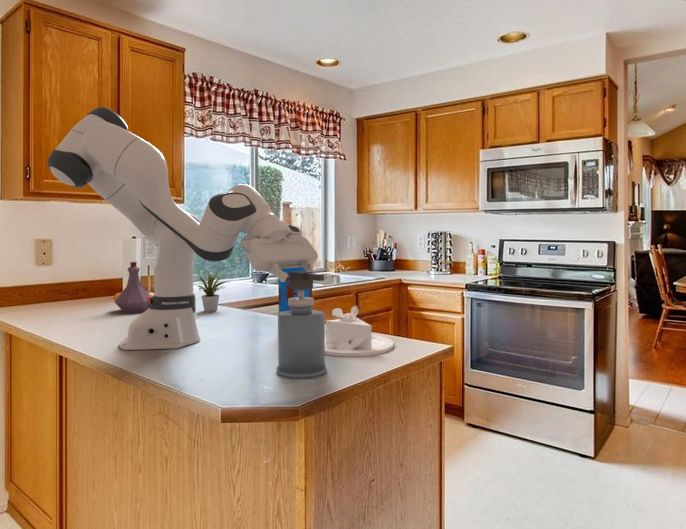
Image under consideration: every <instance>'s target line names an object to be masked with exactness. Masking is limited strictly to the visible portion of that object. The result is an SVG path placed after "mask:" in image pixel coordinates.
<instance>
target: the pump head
mask: <svg viewBox="0 0 686 529" xmlns="http://www.w3.org/2000/svg"><path fill="white" fill-rule="evenodd" d="M289 277H290V278H289V289H296V290H298V298H304V290H305V289H312V290H313V288H314V281H317V282H320V281H321V282H323V281H324V280H325V274H323V273H316V274H314V273H313V271H292V272H289Z"/></svg>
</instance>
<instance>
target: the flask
mask: <svg viewBox="0 0 686 529" xmlns="http://www.w3.org/2000/svg"><path fill="white" fill-rule="evenodd" d="M129 264H130V266H129V267H128V268H127V269H126V270H127V271H128V278H127V279H128V280H127V283H126V286H125V288H124V289H123V290H122V291H121V292H120V294H119V295H118V296H117V297H116V298H115V299H114V304H115V305H116V306H117V307H119V309H120V310H121V311H122V312H123V313H129V314H130V313H143V312H145V311H146V310H147V309H149V308H148V305H147V301H146V299H147V297H148V296H152V294H150V293H149V292H148V291H147V290H146V289H145V288H144V287H143V286H142V283H141V280H140V276H139V271H140V269H141V268H139V267H138V266H137V264H138V262H137V261H130V262H129Z"/></svg>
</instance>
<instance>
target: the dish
mask: <svg viewBox="0 0 686 529" xmlns="http://www.w3.org/2000/svg"><path fill="white" fill-rule="evenodd" d="M358 314H359V308H358V306H357V305H354V306H352V308H350V312H347V313H343V310H342V308H339V307H337V308H334V309H332V311H331V316H333V317H336V318H337V319H331V320H326V321H325V354H326V356H327V355H328V356H333V355H334V356H335V357H336V356H337V357H368V355H369V356H375V354H376V355H380V353H381V354H385V353H388V352H389V350H390V351H391V349H392V348H394V347H393V346H395V342H394V341H393V340H392V338H388V337H386V336H383V335H377V334H373V333H372V331H373V330H372V325H370V324H369V323H367V322H366V321H364V320H362V319H360V318H359V317H357V315H358ZM392 350H393V349H392ZM387 351H388V352H387Z"/></svg>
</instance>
